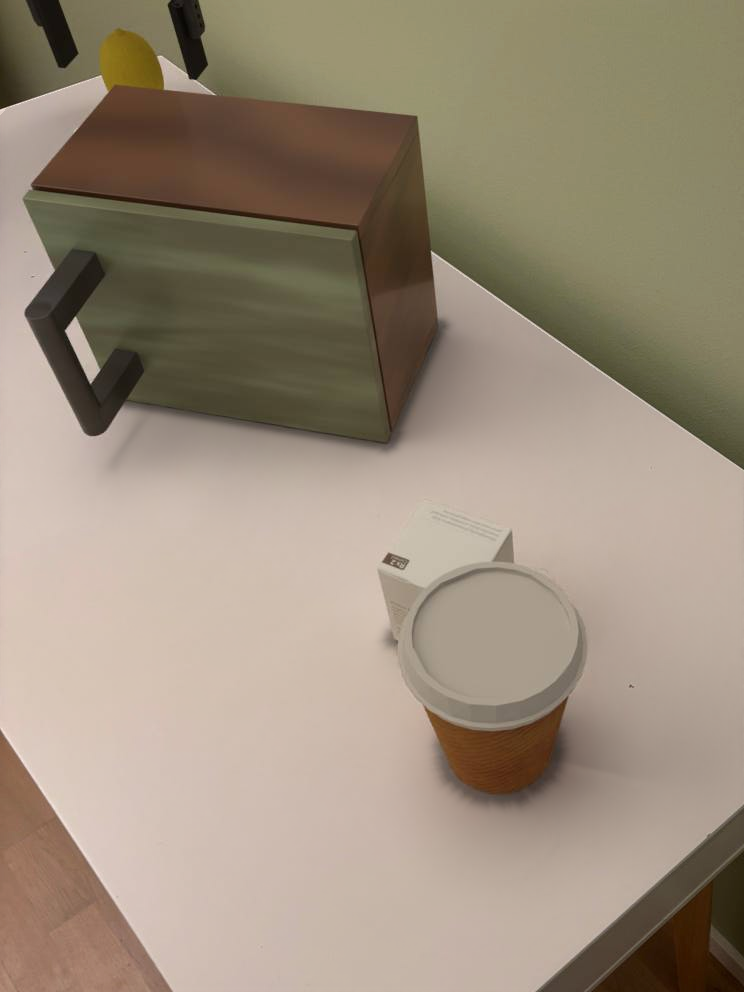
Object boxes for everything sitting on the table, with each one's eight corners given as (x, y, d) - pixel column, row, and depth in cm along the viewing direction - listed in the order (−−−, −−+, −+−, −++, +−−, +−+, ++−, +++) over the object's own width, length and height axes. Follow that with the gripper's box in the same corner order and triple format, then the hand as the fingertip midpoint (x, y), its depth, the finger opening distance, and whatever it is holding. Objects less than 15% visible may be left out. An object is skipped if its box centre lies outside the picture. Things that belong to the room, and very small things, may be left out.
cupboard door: (355, 514, 71) (311, 316, 57) (69, 463, 75) (-37, 266, 61) (391, 433, 75) (357, 230, 61) (118, 389, 79) (28, 188, 65)
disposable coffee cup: (502, 853, 57) (494, 752, 47) (384, 749, 61) (354, 635, 51) (614, 740, 60) (628, 624, 50) (495, 649, 64) (487, 524, 54)
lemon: (163, 131, 99) (136, 45, 92) (109, 129, 100) (78, 43, 93) (181, 100, 102) (156, 15, 95) (128, 98, 103) (100, 13, 96)
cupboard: (392, 432, 75) (358, 225, 61) (120, 388, 79) (29, 184, 65) (438, 325, 82) (417, 115, 67) (184, 289, 86) (114, 84, 71)
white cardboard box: (518, 600, 66) (516, 526, 60) (476, 674, 63) (469, 604, 57) (434, 570, 68) (424, 495, 62) (390, 640, 65) (374, 568, 59)
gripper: (206, -228, 79) (270, 55, 97) (-74, -236, 84) (35, 36, 101) (165, -190, 75) (239, 99, 93) (-127, -200, 80) (-4, 76, 98)
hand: (133, 66), depth 97 cm, fingers open, 13 cm apart
